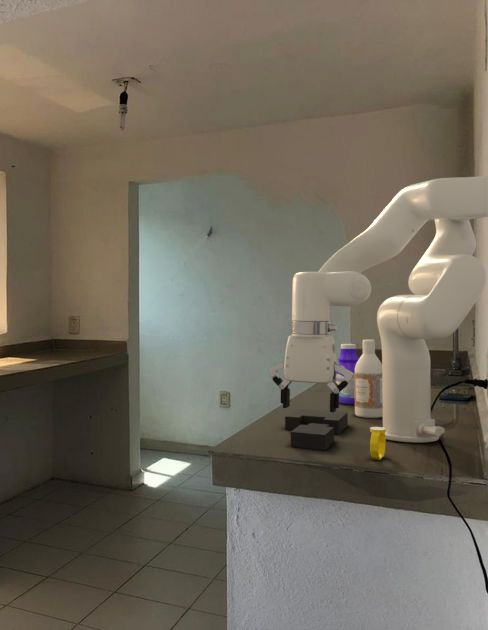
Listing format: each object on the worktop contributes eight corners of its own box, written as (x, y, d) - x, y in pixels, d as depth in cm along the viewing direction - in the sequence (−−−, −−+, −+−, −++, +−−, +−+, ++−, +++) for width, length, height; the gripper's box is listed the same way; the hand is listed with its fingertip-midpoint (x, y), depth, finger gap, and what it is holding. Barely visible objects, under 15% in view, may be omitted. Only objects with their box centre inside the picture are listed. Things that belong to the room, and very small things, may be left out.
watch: (374, 454, 130) (374, 424, 130) (389, 456, 128) (389, 426, 128) (366, 460, 125) (366, 429, 125) (381, 462, 123) (381, 431, 123)
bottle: (332, 402, 193) (331, 343, 193) (348, 401, 195) (347, 343, 194) (349, 406, 186) (349, 345, 186) (366, 404, 188) (365, 344, 188)
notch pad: (347, 425, 159) (347, 412, 159) (338, 434, 149) (338, 420, 149) (297, 421, 166) (297, 408, 166) (285, 429, 156) (284, 416, 155)
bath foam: (349, 415, 171) (348, 340, 171) (365, 412, 175) (364, 338, 175) (373, 419, 166) (372, 341, 165) (389, 416, 169) (389, 339, 169)
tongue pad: (336, 439, 144) (336, 425, 144) (325, 450, 134) (325, 434, 134) (303, 436, 148) (303, 422, 148) (290, 446, 138) (290, 431, 138)
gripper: (356, 330, 138) (355, 410, 138) (274, 328, 147) (273, 403, 147) (350, 331, 131) (349, 415, 132) (264, 329, 141) (263, 408, 141)
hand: (309, 409), depth 139 cm, fingers open, 9 cm apart
